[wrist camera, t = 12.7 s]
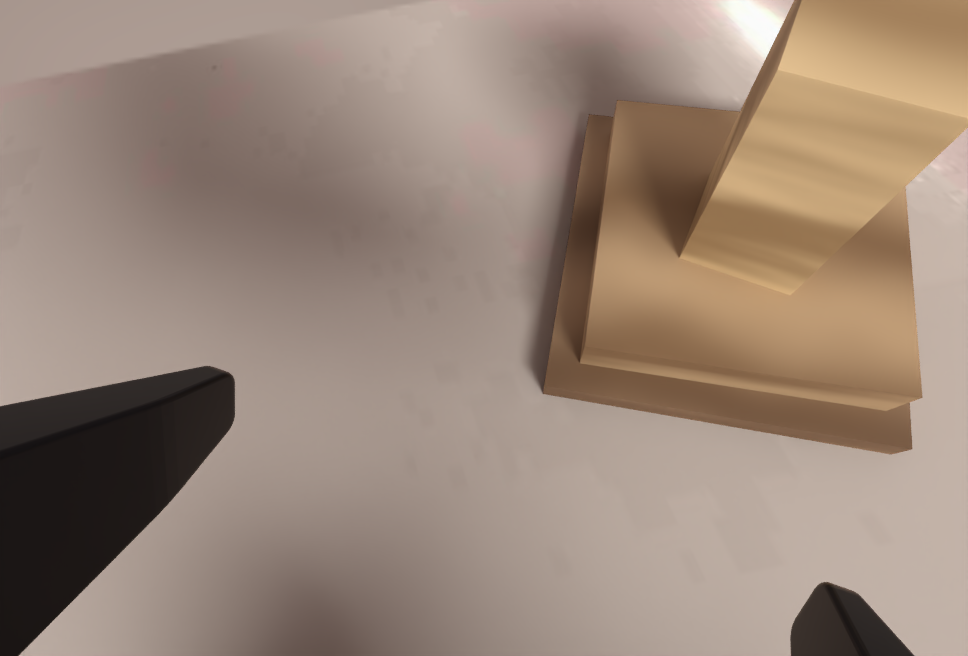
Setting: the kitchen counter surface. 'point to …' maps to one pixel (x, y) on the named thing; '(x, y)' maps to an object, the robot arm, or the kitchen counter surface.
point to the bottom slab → (682, 395)
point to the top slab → (739, 283)
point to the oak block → (831, 134)
